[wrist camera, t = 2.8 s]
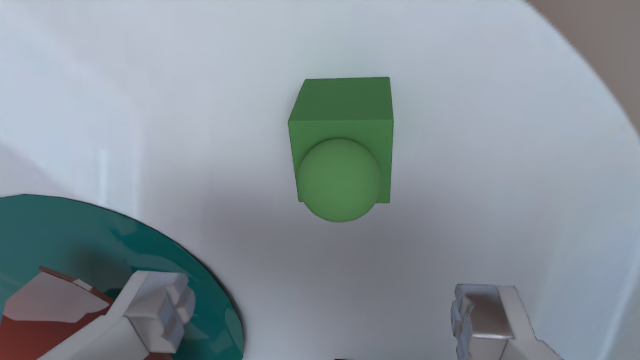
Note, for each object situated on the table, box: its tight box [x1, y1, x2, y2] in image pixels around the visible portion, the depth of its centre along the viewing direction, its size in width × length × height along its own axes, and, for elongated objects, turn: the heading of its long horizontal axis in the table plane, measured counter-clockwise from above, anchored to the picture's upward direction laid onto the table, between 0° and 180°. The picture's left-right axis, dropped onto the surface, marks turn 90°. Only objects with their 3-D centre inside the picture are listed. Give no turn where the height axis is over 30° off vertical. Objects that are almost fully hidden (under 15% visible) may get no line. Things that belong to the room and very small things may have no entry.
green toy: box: [288, 77, 394, 222], centre depth 18 cm, size 4×4×8 cm
